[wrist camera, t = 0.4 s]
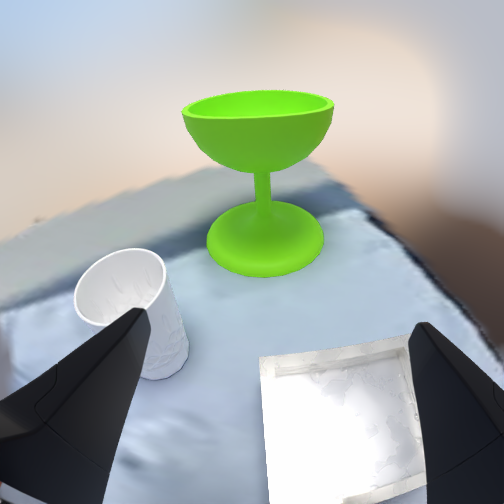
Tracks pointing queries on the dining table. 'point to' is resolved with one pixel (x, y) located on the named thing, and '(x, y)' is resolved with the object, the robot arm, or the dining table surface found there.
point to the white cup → (136, 305)
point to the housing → (342, 424)
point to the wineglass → (261, 175)
